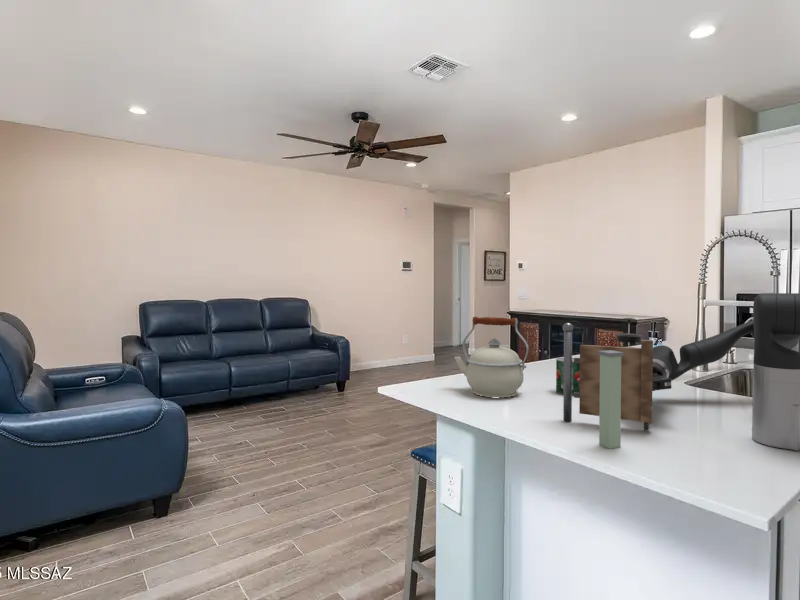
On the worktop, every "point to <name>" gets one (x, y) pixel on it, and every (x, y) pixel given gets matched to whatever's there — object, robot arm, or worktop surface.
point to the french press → (629, 335)
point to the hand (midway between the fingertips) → (635, 388)
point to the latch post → (610, 398)
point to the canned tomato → (561, 376)
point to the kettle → (493, 364)
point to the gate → (632, 381)
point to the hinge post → (567, 372)
